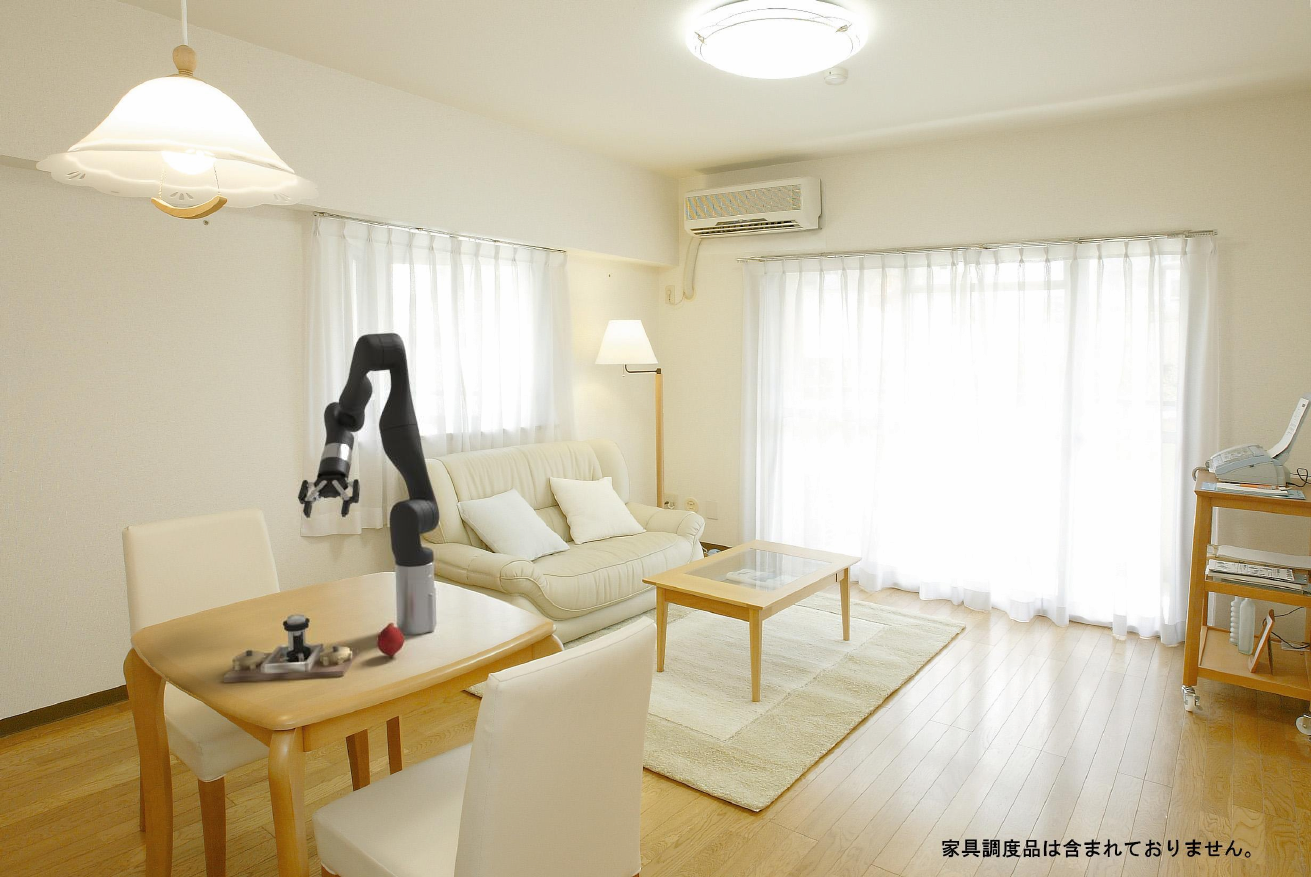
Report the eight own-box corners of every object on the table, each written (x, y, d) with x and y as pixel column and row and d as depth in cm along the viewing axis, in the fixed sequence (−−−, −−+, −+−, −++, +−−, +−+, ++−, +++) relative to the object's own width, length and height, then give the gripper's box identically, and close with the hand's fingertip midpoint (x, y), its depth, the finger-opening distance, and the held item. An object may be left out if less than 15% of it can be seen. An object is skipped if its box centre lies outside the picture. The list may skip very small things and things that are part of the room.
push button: (287, 669, 165) (285, 624, 164) (273, 663, 168) (271, 619, 167) (316, 659, 170) (314, 616, 169) (302, 654, 173) (300, 611, 172)
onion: (388, 663, 172) (387, 628, 171) (372, 658, 175) (370, 623, 174) (409, 655, 177) (408, 621, 176) (392, 650, 180) (392, 616, 179)
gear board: (358, 653, 177) (358, 635, 177) (345, 676, 165) (344, 657, 164) (244, 659, 174) (243, 641, 173) (221, 682, 161) (220, 663, 160)
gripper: (303, 455, 198) (291, 508, 188) (361, 455, 200) (352, 506, 190) (310, 473, 204) (298, 524, 194) (366, 472, 206) (357, 523, 196)
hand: (325, 515), depth 192 cm, fingers open, 8 cm apart
